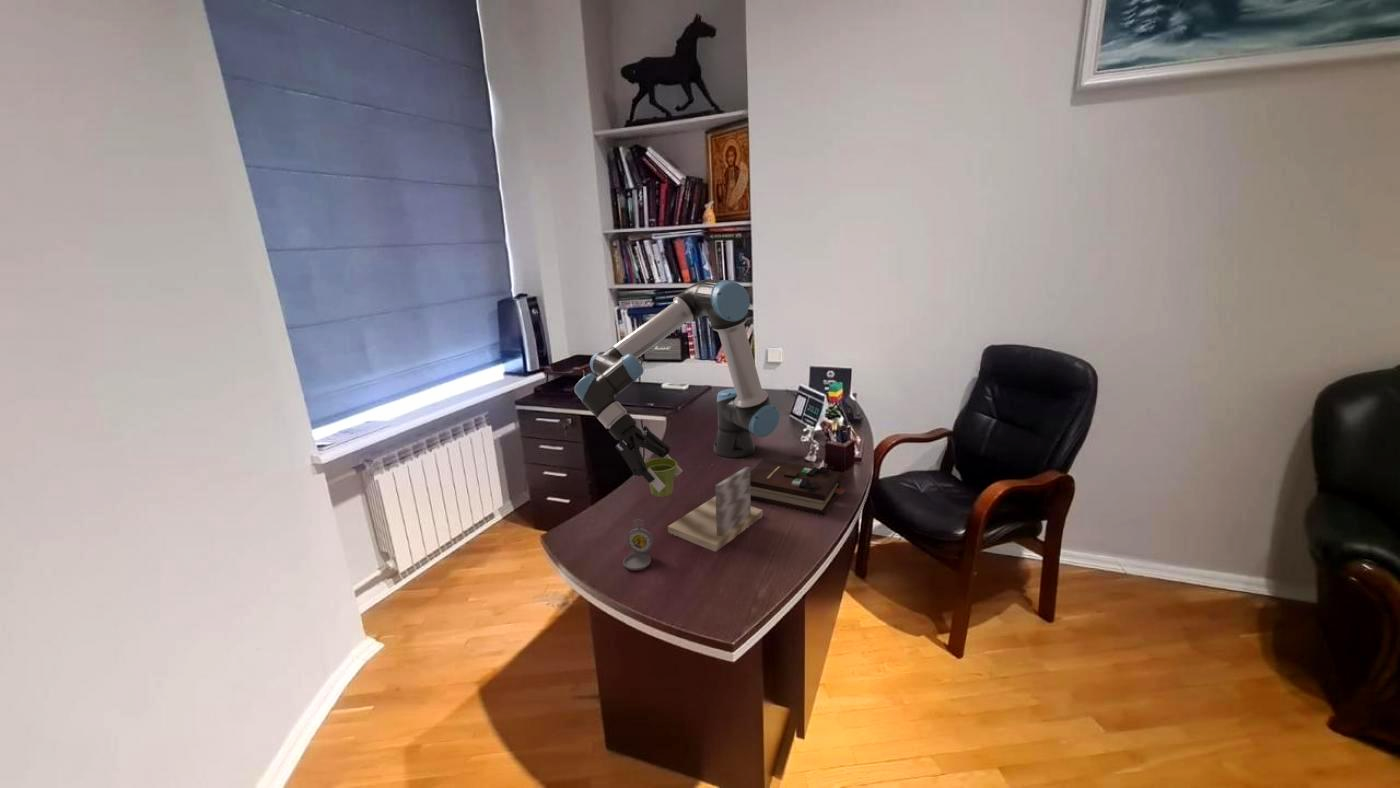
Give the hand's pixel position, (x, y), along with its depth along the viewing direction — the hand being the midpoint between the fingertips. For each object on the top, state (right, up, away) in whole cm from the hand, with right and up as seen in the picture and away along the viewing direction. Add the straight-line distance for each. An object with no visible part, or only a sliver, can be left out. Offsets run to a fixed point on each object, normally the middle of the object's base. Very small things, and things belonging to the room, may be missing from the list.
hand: (671, 481), depth 150 cm
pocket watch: (-7, -17, -16) cm, 25 cm away
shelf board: (+13, -12, -1) cm, 17 cm away
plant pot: (-3, -4, +3) cm, 5 cm away
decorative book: (+36, -7, +15) cm, 39 cm away
